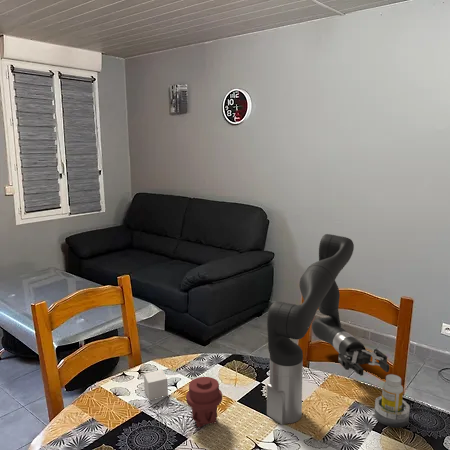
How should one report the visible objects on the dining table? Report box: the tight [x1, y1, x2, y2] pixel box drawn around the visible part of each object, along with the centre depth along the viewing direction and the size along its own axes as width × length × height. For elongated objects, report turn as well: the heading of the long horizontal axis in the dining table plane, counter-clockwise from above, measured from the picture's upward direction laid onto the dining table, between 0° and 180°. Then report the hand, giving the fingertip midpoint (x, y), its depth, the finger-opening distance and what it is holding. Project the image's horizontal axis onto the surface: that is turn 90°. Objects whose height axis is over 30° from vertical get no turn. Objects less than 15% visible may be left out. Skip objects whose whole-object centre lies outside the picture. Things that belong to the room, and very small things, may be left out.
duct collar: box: [374, 395, 411, 429], centre depth 119 cm, size 9×9×4 cm
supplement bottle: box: [381, 373, 404, 413], centre depth 118 cm, size 5×5×10 cm
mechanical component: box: [185, 376, 223, 428], centre depth 118 cm, size 12×10×10 cm
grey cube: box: [143, 369, 169, 401], centre depth 132 cm, size 6×6×6 cm
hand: (375, 370), depth 126 cm, fingers open, 8 cm apart
